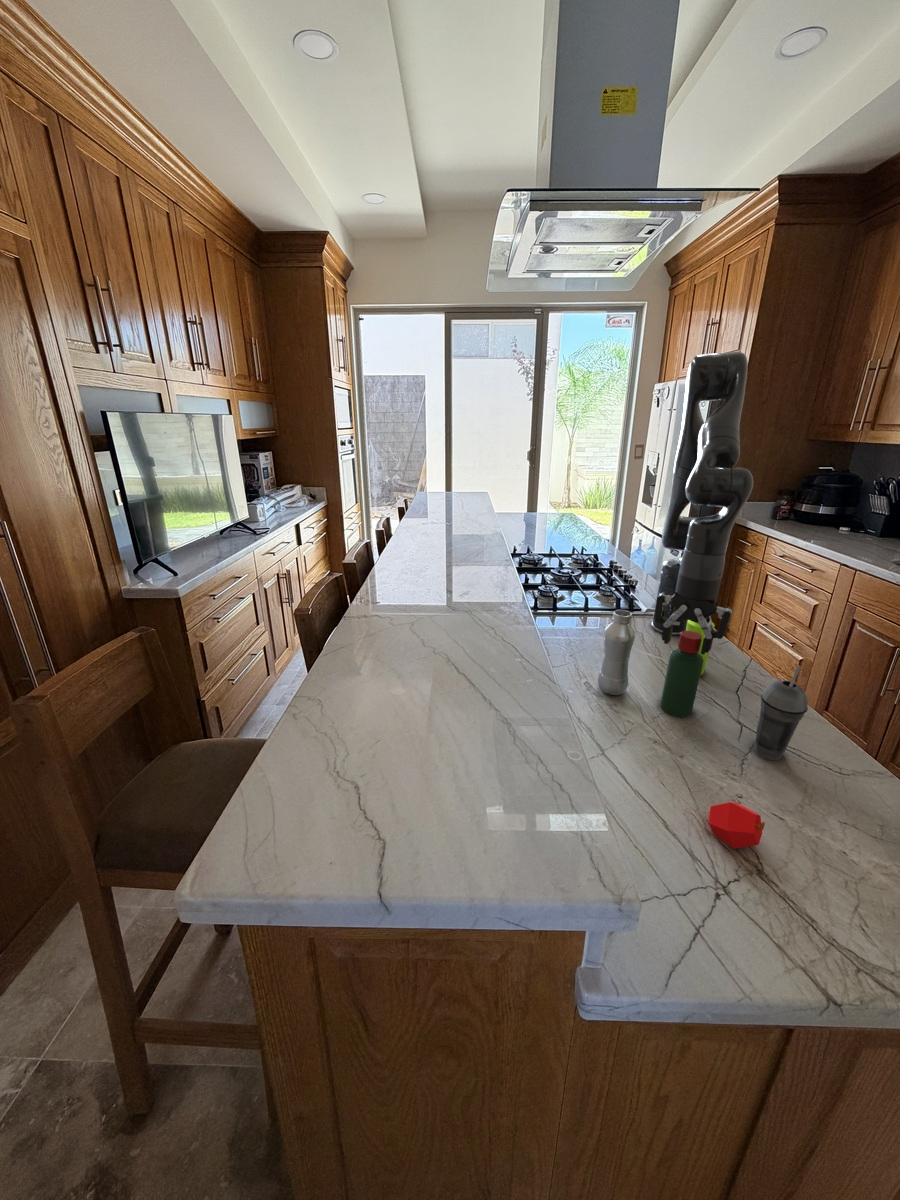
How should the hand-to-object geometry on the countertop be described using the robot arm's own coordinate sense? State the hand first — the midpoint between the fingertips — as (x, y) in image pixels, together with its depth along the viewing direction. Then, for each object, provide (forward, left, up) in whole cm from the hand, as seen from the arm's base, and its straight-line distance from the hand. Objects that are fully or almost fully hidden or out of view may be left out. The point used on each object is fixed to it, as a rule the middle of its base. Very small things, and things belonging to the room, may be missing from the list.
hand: (684, 647), depth 100 cm
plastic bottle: (+2, -13, -16) cm, 20 cm away
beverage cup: (+3, +19, -16) cm, 24 cm away
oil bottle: (-1, +1, -15) cm, 15 cm away
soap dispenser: (-19, -1, -16) cm, 25 cm away
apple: (+29, +18, -16) cm, 37 cm away
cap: (-1, +1, 0) cm, 1 cm away
